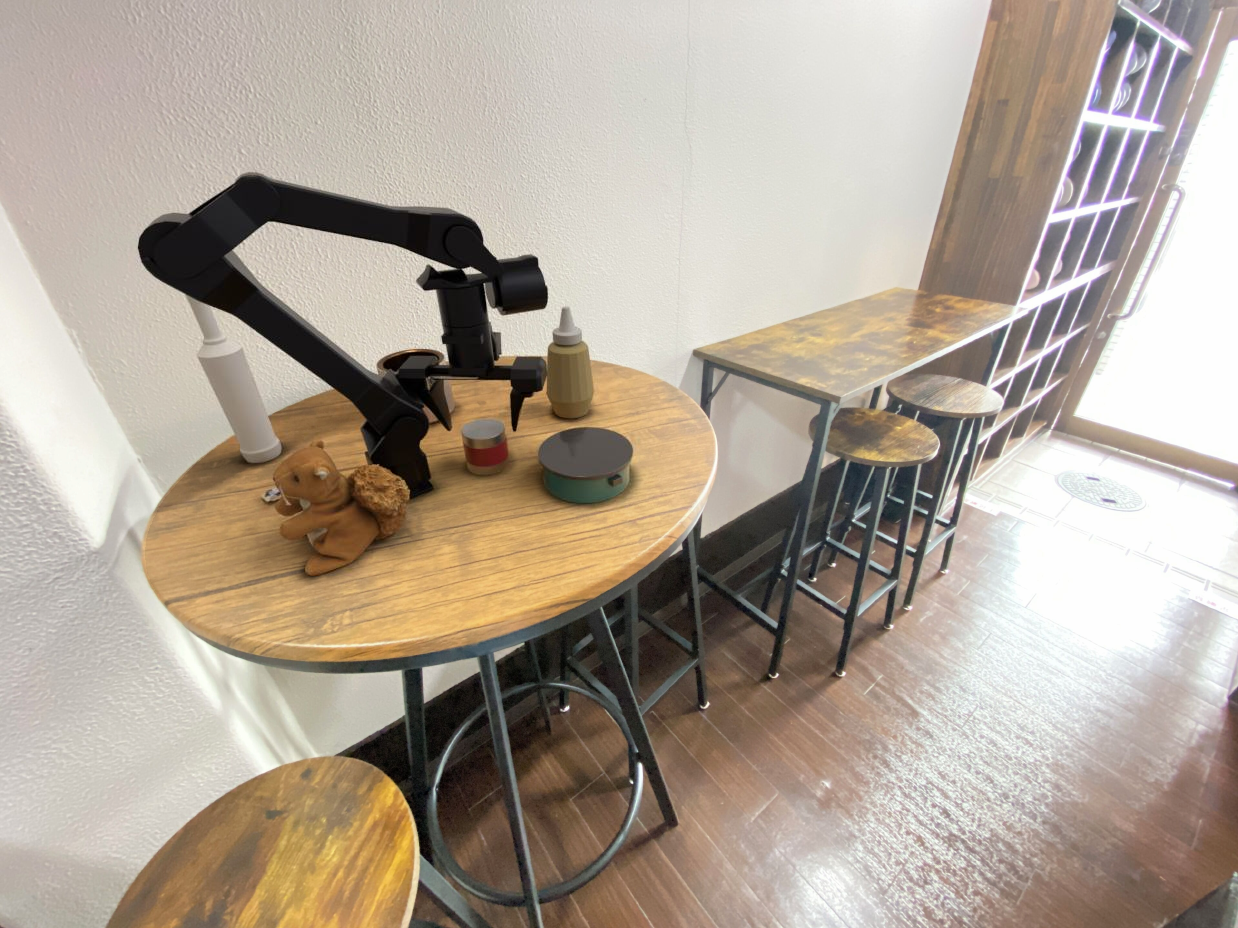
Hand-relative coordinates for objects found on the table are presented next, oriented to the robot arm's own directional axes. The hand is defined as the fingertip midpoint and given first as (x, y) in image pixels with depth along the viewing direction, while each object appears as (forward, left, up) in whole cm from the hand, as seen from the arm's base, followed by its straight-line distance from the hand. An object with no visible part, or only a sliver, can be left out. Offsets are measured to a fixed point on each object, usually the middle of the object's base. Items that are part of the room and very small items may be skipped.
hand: (482, 430), depth 75 cm
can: (0, 0, -6) cm, 6 cm away
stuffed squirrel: (-20, -5, -6) cm, 21 cm away
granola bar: (-24, +11, -6) cm, 27 cm away
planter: (-1, +22, -6) cm, 23 cm away
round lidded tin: (+9, -12, -6) cm, 16 cm away
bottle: (-25, +24, -6) cm, 35 cm away
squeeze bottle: (+19, +6, -6) cm, 21 cm away
